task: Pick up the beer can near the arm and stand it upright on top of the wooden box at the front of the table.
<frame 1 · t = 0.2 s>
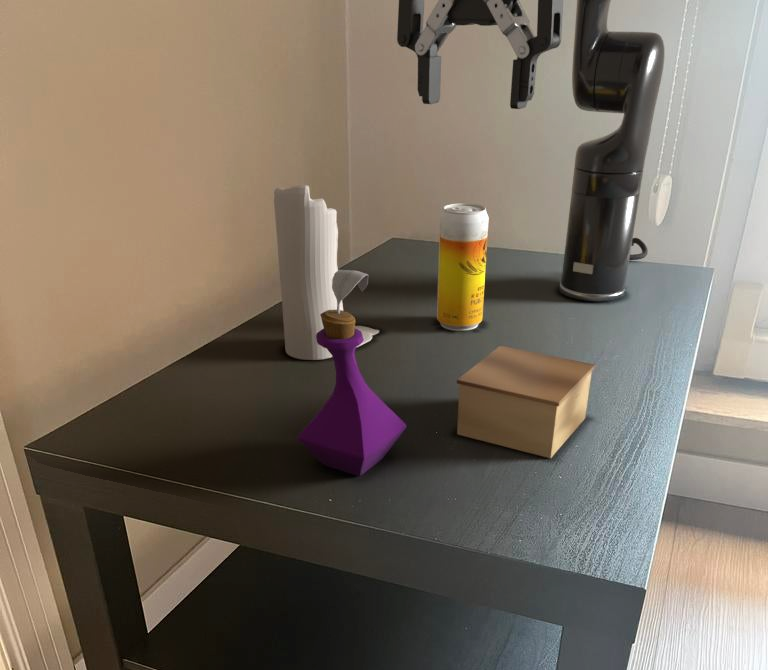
hand: (473, 105, 71), 29 cm above the table, tool pointing down, fingers open, 8 cm apart
purple potion bottle: (353, 463, 76), on the table
wooden box: (522, 426, 82), on the table
beer can: (459, 325, 108), on the table
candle: (333, 343, 102), on the table
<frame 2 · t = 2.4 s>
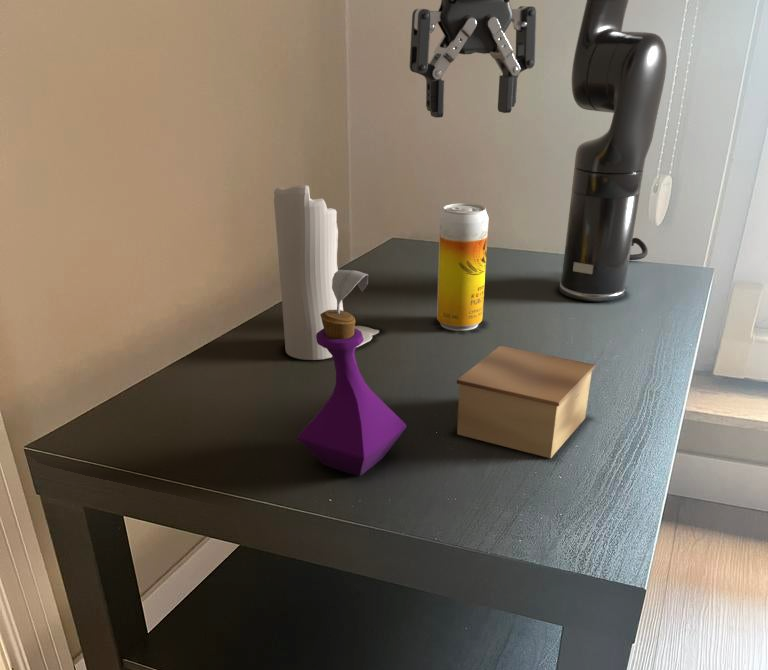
hand: (470, 114, 92), 26 cm above the table, tool pointing down, fingers open, 8 cm apart
nothing on the table moved.
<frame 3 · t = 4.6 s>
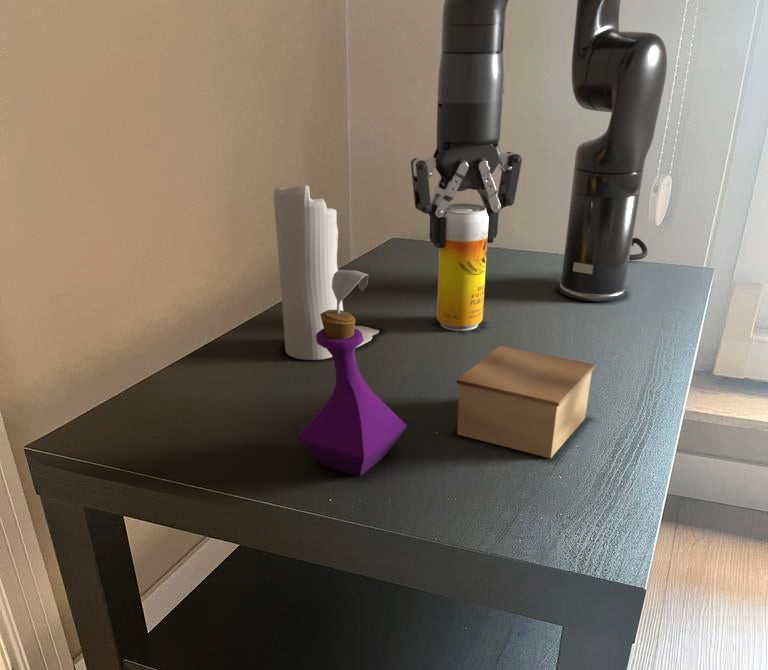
hand: (463, 243, 102), 11 cm above the table, tool pointing down, fingers closed on beer can, 6 cm apart
beer can: (459, 325, 108), on the table, touching gripper
everything else where it was.
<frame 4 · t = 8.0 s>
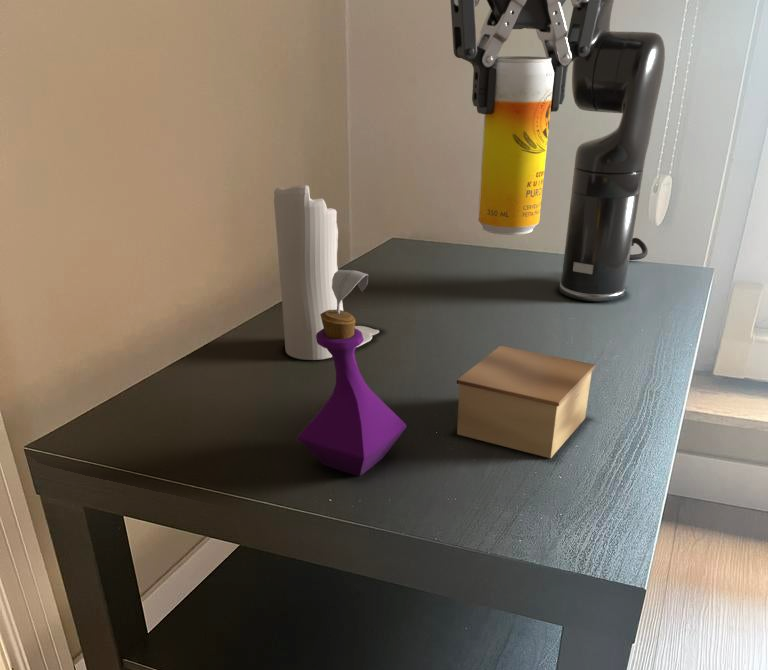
hand: (517, 111, 75), 28 cm above the table, tool pointing down, fingers closed on beer can, 6 cm apart
beer can: (507, 231, 80), point 17 cm above the table, touching gripper
everything else where it was.
when the fingers open (17 cm above the table, at t = 11.8 s): beer can stays where it is, resting on wooden box.
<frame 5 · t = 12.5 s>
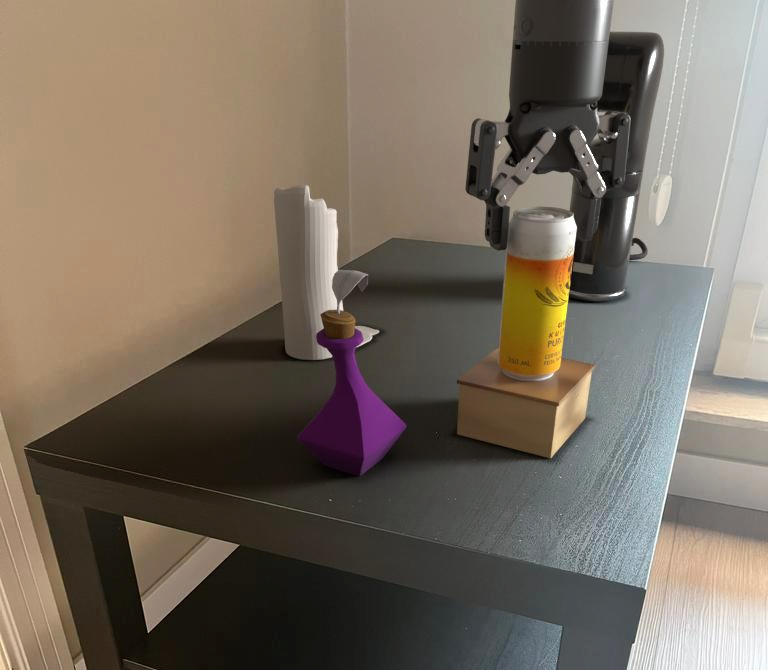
hand: (540, 243, 72), 18 cm above the table, tool pointing down, fingers open, 8 cm apart
beer can: (527, 372, 79), point 6 cm above the table, touching wooden box
everything else where it was.
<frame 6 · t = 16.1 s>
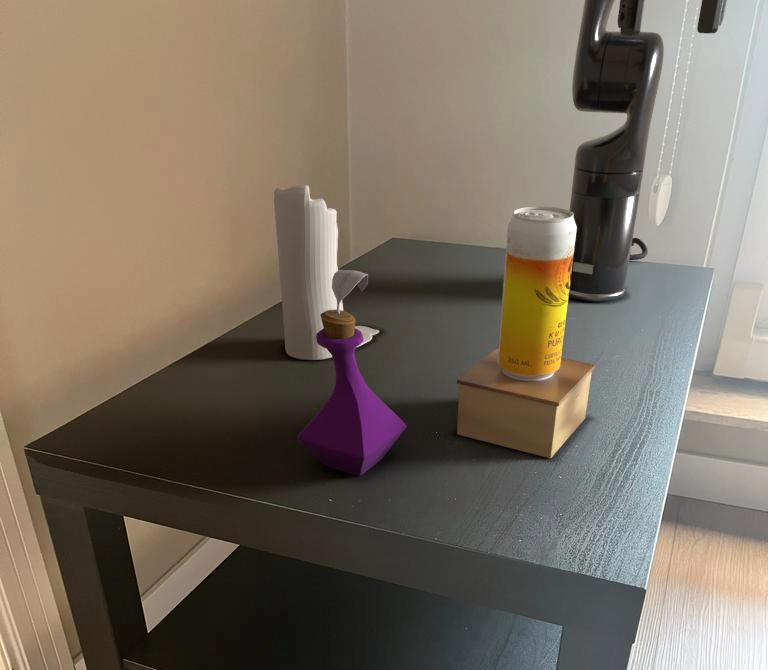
hand: (668, 34, 75), 34 cm above the table, tool pointing down, fingers open, 8 cm apart
nothing on the table moved.
at the end: beer can 0.2 cm off-centre on the wooden box, point 5.8 cm above the wooden box's base; beer can tilted 0°; the gripper is holding nothing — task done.
